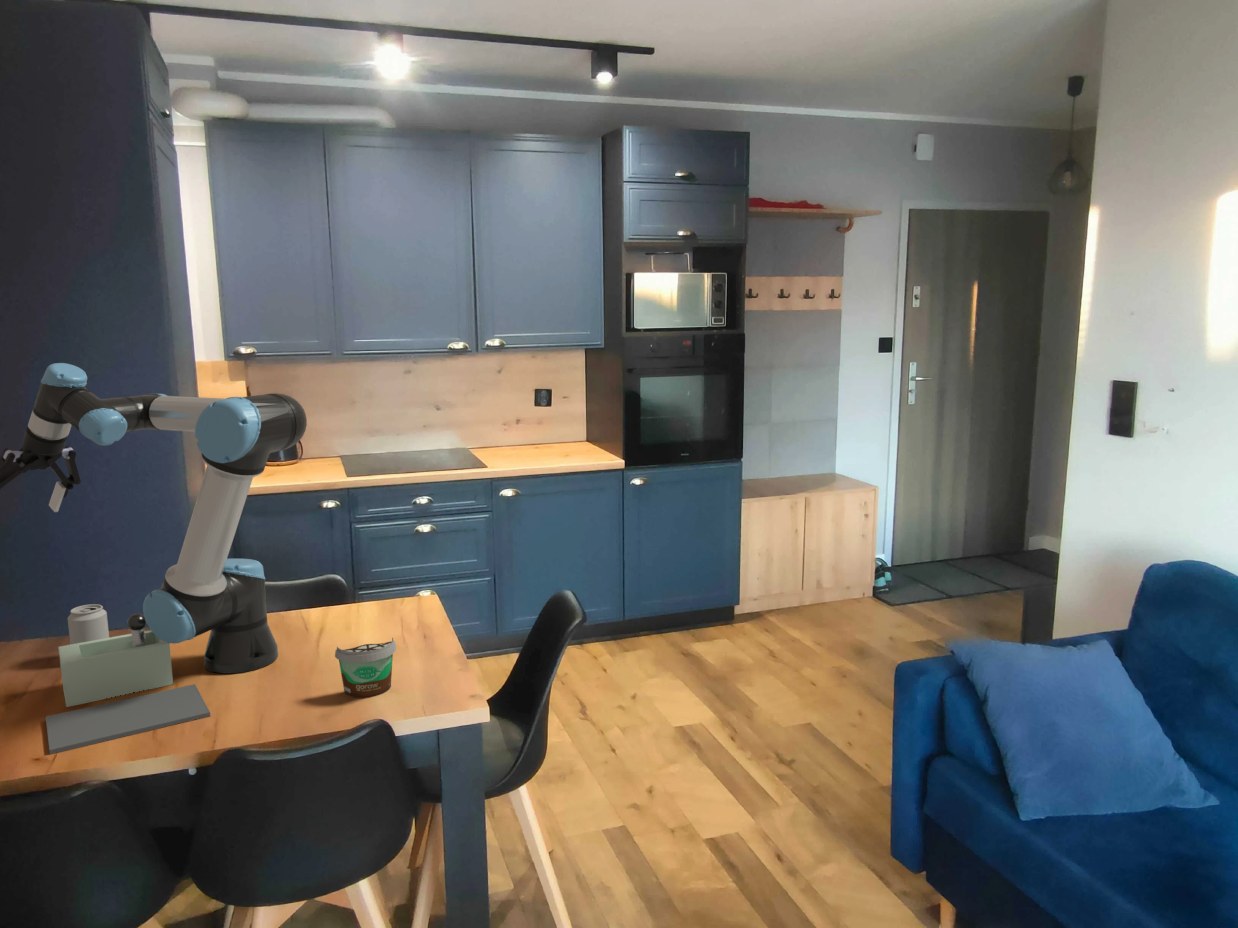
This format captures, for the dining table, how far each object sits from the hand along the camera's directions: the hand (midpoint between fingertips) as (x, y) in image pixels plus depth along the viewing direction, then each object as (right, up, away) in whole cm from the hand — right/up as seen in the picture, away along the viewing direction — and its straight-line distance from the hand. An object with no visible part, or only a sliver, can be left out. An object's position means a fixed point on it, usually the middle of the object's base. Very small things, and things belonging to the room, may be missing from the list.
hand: (21, 511), depth 192 cm
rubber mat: (+38, -38, -25) cm, 59 cm away
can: (+13, -33, +4) cm, 36 cm away
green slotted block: (+27, -36, -11) cm, 46 cm away
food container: (+81, -36, -14) cm, 90 cm away
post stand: (+31, -35, -8) cm, 48 cm away
